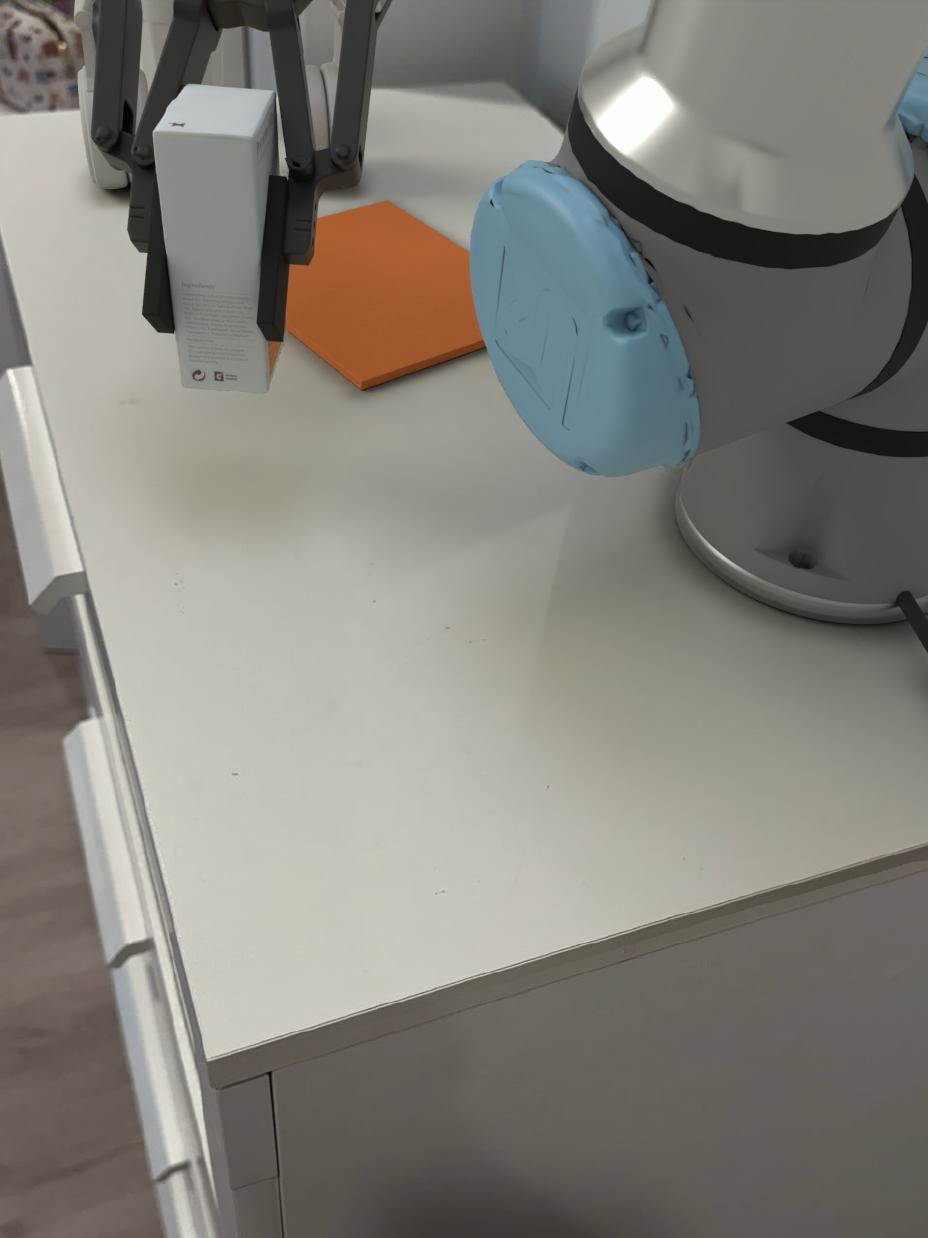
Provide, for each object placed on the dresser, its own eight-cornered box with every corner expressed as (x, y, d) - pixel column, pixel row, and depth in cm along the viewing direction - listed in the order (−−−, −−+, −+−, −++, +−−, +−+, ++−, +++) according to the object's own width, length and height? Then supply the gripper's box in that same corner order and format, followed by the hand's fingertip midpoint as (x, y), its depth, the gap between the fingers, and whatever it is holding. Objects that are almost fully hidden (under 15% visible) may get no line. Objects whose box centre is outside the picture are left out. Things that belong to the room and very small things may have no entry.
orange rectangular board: (563, 320, 77) (564, 311, 77) (361, 390, 69) (361, 381, 69) (387, 207, 88) (387, 199, 88) (196, 257, 81) (195, 248, 80)
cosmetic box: (271, 397, 55) (253, 137, 47) (180, 390, 55) (146, 130, 47) (291, 334, 60) (278, 87, 52) (207, 328, 60) (181, 80, 52)
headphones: (92, 209, 85) (44, -98, 72) (93, 162, 91) (48, -129, 78) (366, 200, 89) (368, -92, 76) (350, 155, 95) (349, -122, 82)
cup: (226, 145, 95) (214, -18, 87) (127, 138, 95) (105, -26, 87) (242, 109, 101) (232, -47, 93) (149, 103, 101) (130, -55, 92)
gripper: (451, -113, 57) (413, 365, 56) (93, -141, 57) (48, 337, 56) (449, -233, 49) (406, 318, 48) (37, -265, 49) (-16, 285, 48)
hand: (214, 327), depth 52 cm, fingers closed on cosmetic box, 4 cm apart
